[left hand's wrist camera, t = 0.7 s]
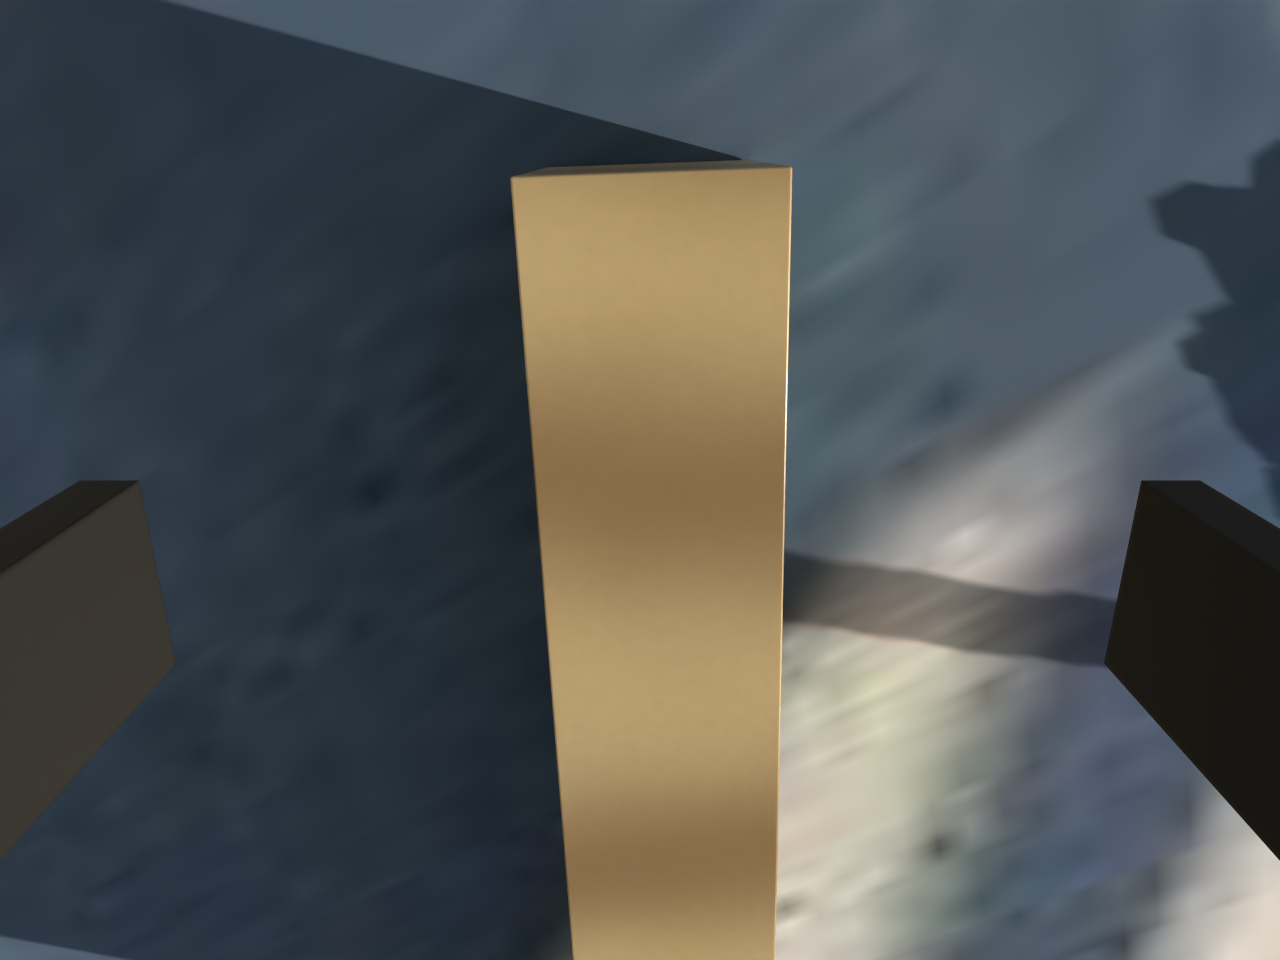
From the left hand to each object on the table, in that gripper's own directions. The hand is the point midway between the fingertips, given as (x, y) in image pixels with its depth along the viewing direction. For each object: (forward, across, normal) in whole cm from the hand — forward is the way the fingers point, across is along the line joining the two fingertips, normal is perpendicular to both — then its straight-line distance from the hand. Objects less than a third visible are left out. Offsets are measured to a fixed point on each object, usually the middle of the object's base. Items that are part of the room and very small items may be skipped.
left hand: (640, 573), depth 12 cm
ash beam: (+17, +1, -13) cm, 22 cm away
